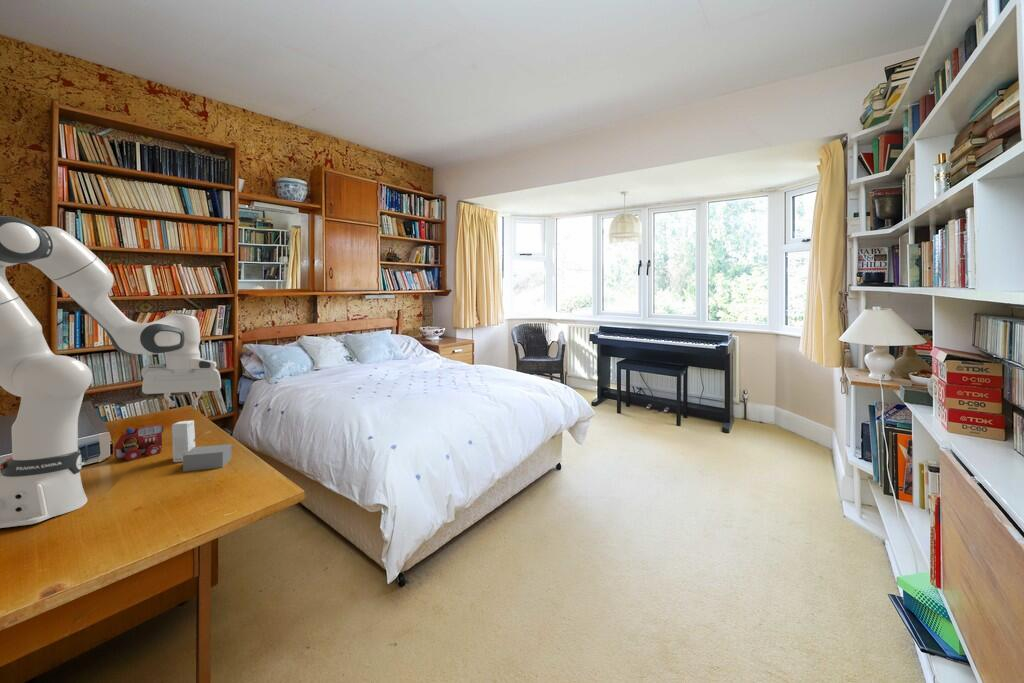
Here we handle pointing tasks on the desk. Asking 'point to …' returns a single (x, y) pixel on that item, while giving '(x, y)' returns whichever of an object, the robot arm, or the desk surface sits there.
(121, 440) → the toy fire truck
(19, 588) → the desk surface
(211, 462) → the gray riser
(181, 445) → the skincare box
